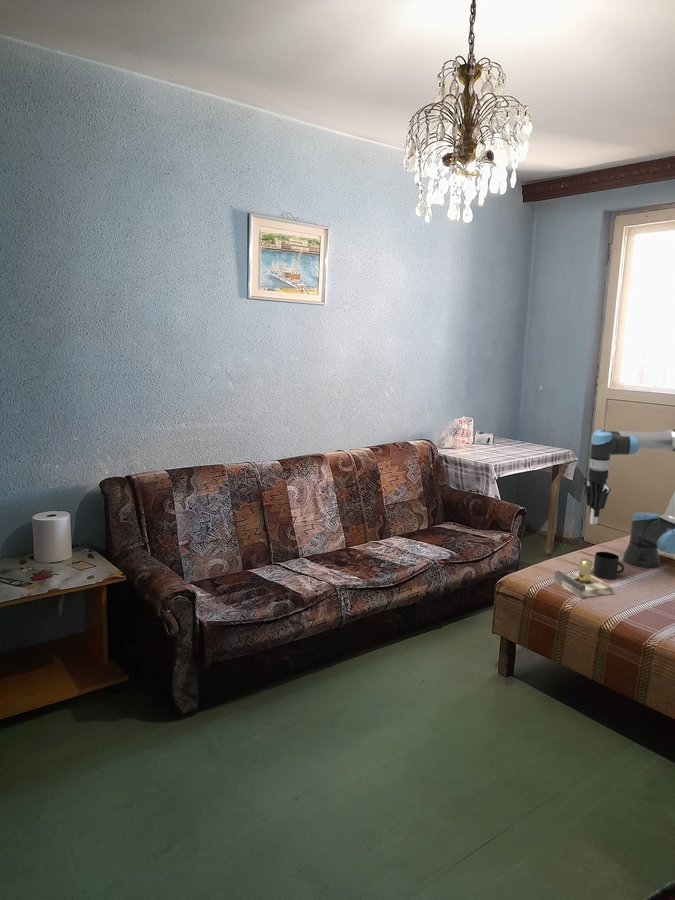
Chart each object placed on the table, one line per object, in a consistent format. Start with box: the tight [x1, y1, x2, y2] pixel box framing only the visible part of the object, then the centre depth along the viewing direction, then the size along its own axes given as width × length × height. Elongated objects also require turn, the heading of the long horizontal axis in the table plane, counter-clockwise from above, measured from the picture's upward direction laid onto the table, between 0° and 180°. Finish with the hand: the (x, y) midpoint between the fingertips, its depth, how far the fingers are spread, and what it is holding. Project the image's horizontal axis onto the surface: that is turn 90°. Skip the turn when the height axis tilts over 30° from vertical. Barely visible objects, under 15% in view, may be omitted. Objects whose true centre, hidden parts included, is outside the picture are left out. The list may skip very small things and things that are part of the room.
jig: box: [553, 570, 614, 599], centre depth 259 cm, size 16×16×5 cm
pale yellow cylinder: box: [578, 558, 593, 585], centre depth 259 cm, size 4×4×12 cm
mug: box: [592, 551, 625, 580], centre depth 273 cm, size 9×12×9 cm
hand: (593, 523), depth 268 cm, fingers closed
